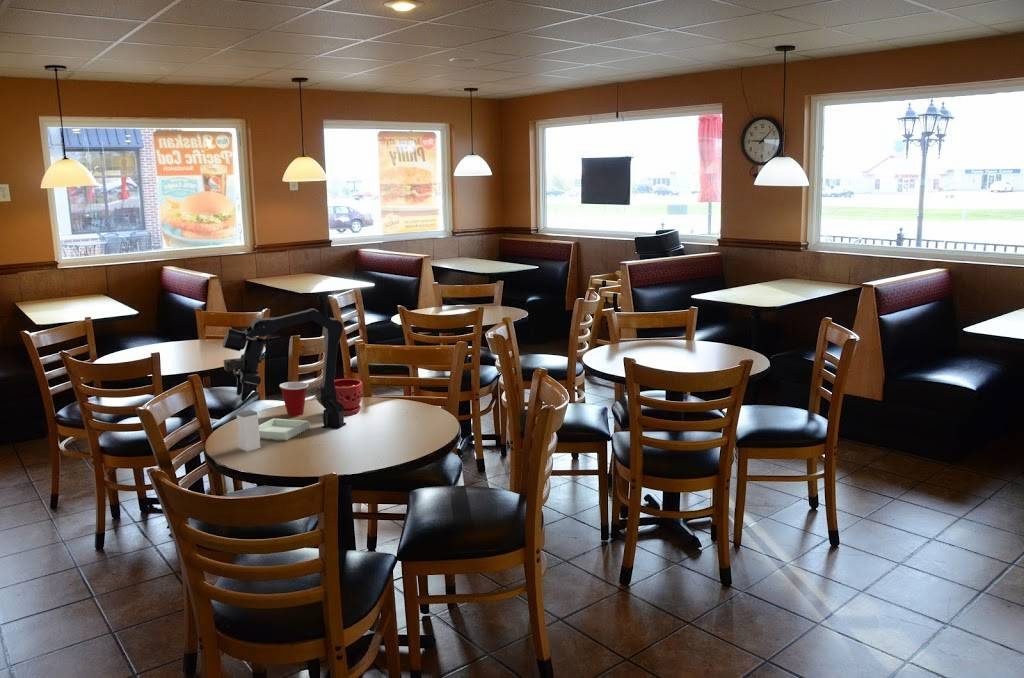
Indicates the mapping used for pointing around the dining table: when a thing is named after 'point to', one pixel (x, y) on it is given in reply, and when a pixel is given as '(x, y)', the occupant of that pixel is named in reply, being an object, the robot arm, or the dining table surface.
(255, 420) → the white rectangular box
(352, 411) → the plant pot
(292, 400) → the plastic cup
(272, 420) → the tray
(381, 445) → the dining table surface
